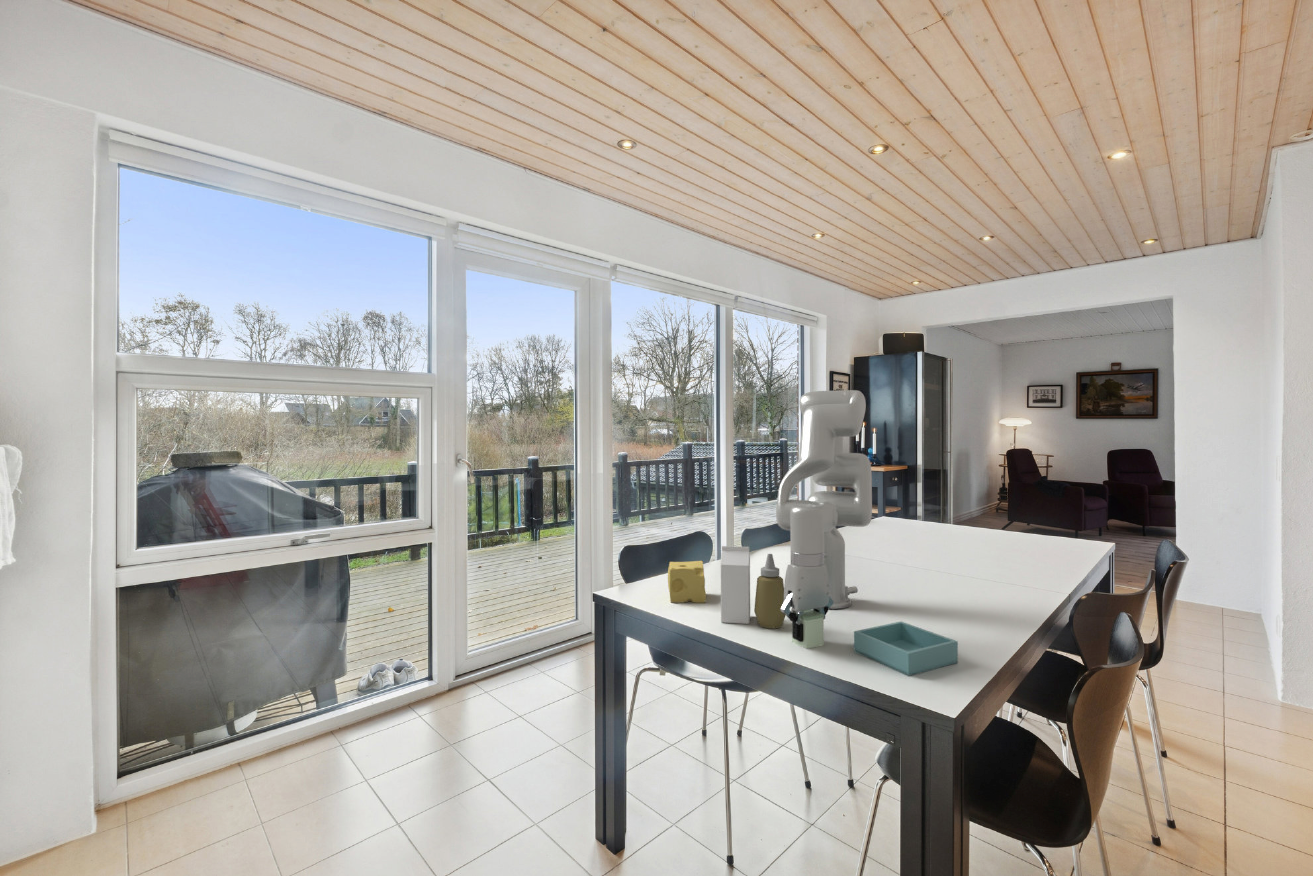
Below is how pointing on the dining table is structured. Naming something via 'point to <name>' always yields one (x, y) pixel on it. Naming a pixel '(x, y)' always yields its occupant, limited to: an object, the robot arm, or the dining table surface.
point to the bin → (906, 647)
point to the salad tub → (812, 629)
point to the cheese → (686, 582)
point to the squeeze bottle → (769, 596)
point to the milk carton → (735, 584)
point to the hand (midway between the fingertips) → (807, 637)
